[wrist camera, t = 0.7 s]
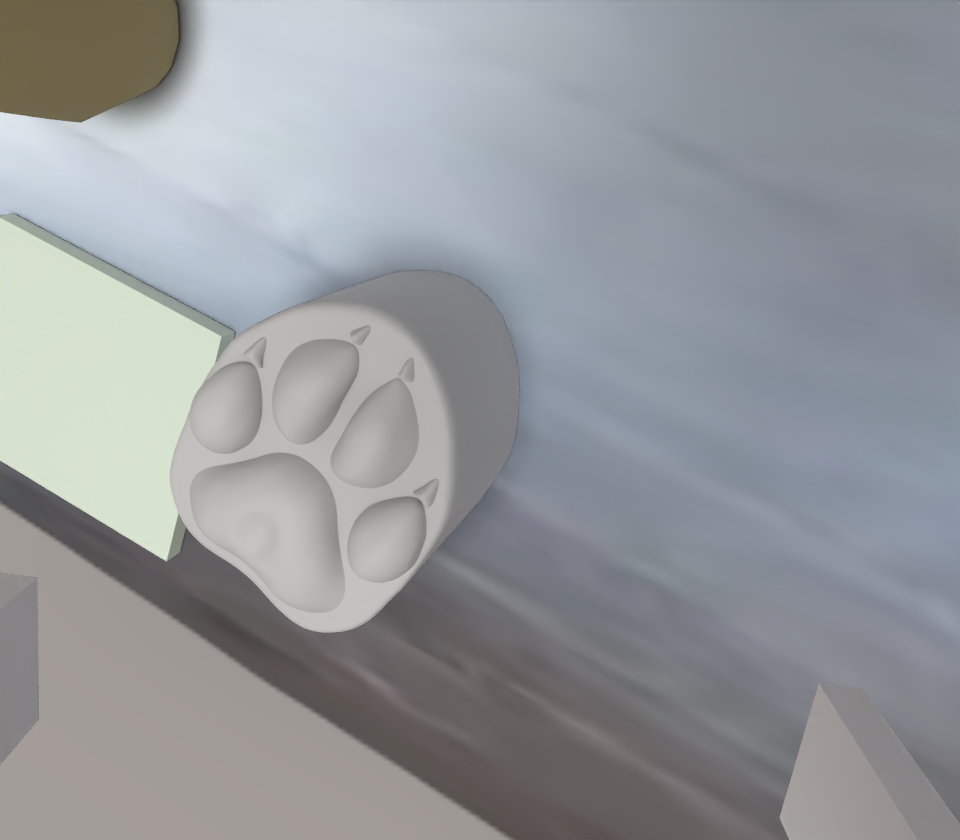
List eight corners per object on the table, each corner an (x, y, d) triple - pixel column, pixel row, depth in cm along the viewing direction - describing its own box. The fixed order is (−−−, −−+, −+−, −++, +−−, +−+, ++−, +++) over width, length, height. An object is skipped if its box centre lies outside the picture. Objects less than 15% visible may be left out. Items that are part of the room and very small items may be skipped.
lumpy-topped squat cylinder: (249, 438, 39) (114, 512, 32) (378, 208, 33) (250, 231, 26) (418, 578, 38) (322, 690, 31) (582, 368, 32) (512, 441, 25)
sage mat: (14, 213, 40) (-4, 215, 39) (235, 331, 38) (221, 336, 37) (-12, 437, 46) (-28, 443, 45) (179, 552, 43) (166, 561, 42)
